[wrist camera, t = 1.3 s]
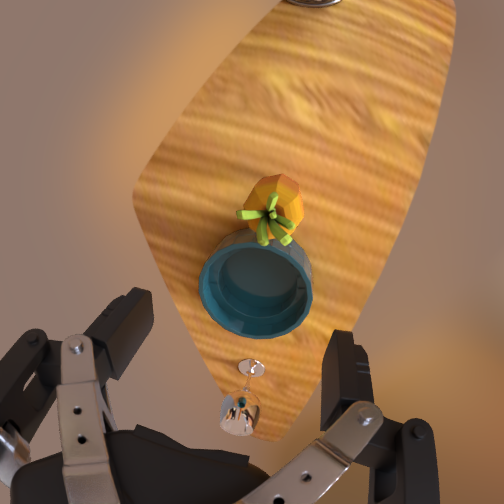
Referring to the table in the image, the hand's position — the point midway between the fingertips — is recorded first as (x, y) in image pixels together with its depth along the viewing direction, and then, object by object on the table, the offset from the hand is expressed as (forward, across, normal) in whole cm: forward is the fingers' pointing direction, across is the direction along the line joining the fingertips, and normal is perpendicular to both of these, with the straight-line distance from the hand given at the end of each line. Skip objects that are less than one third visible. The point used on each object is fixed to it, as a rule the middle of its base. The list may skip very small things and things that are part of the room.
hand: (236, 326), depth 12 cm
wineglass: (+23, 0, +29) cm, 37 cm away
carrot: (+24, 0, -1) cm, 24 cm away
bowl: (+23, +1, +11) cm, 26 cm away
